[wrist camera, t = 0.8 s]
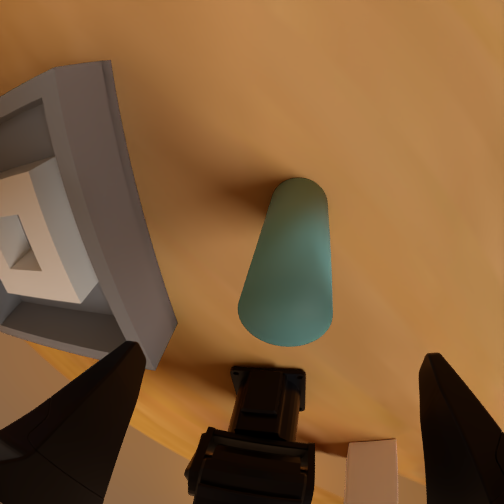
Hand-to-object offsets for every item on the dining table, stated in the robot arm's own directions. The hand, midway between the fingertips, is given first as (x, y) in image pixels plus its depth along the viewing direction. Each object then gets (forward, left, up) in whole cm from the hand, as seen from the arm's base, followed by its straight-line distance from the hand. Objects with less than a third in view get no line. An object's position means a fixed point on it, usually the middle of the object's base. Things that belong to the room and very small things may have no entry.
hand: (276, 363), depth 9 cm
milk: (-33, -9, -11) cm, 36 cm away
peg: (0, 0, -11) cm, 11 cm away
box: (0, +20, -11) cm, 23 cm away
